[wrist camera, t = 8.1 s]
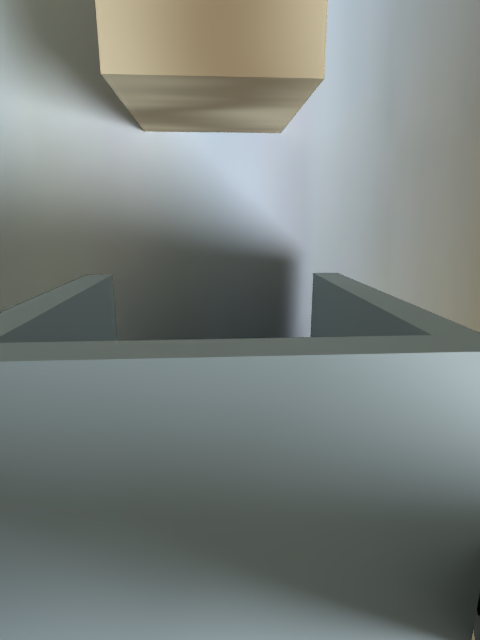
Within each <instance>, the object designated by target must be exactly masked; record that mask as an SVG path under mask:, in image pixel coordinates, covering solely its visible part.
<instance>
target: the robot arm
mask: <svg viewBox="0 0 480 640" xmlns="http://www.w3.org/2000/svg"><path fill="white" fill-rule="evenodd" d="M473 629H474V636H475V640H480V594H479V600H478V605H477V611H476V616H475V622H474V628H473Z"/></svg>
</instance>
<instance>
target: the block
mask: <svg viewBox="0 0 480 640" xmlns="http://www.w3.org/2000/svg"><path fill="white" fill-rule="evenodd" d="M327 5H328V0H95V6H96V19H97V32H98V45H99V58H100V71H101V75H102V76H103V78H104V79H105V80H106V82H107V83H108V84H109V85H110V87H111V88H112V89H113V91H114V92H115V93H116V95H117V96H118V97H119V99H120V100H121V101H122V103H123V104H124V105H125V107H126V108H127V109H128V111H129V112H130V113H131V114H132V116H133V117H134V118H135V120H136V121H137V122H138V124H139V125H140V126H141V128H142V129H143V130H144V131H157V132H239V133H281V132H282V131H283V130H284V129H285V127H286V126H287V125H288V124H289V122H290V121H291V120H292V119H293V117H294V116H295V115H296V113H297V112H298V111H299V110H300V108H301V107H302V106H303V105H304V103H305V102H306V101H307V100H308V98H309V97H310V96H311V95H312V93H313V92H314V91H315V90H316V88H317V87H318V86H319V85H320V83H321V82H322V81H323V80H324V75H325V52H326V28H327Z"/></svg>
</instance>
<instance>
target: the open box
mask: <svg viewBox="0 0 480 640" xmlns="http://www.w3.org/2000/svg"><path fill="white" fill-rule="evenodd" d="M479 594H480V333H479V332H477V331H475V330H472V329H470V328H467V327H465V326H463V325H460V324H458V323H455V322H453V321H451V320H448V319H446V318H444V317H441V316H439V315H436V314H434V313H432V312H429V311H427V310H425V309H422V308H420V307H417V306H415V305H413V304H410V303H408V302H405V301H403V300H401V299H398V298H396V297H394V296H391V295H389V294H386V293H384V292H382V291H379V290H377V289H374V288H372V287H370V286H367V285H365V284H363V283H360V282H358V281H355V280H353V279H351V278H348V277H346V276H344V275H341V274H339V273H313V292H312V315H311V337H298V338H242V339H186V340H131V341H117V330H116V316H115V303H114V289H113V276H112V275H85V276H82V277H80V278H78V279H76V280H73V281H71V282H69V283H66V284H64V285H62V286H60V287H57V288H55V289H53V290H50V291H48V292H46V293H44V294H41V295H39V296H37V297H34V298H32V299H30V300H28V301H25V302H23V303H21V304H19V305H16V306H14V307H12V308H9V309H7V310H5V311H3V312H0V640H471V639H472V633H473V628H474V622H475V616H476V611H477V605H478V600H479Z"/></svg>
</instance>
